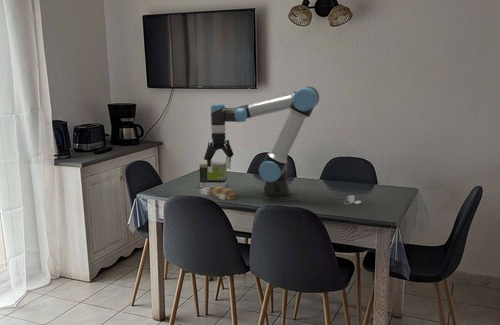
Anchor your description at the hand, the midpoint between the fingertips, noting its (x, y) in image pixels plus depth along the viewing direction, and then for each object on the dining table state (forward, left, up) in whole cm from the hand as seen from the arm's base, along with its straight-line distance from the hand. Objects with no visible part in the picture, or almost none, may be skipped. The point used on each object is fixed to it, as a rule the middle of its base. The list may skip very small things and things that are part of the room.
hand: (219, 170), depth 275 cm
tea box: (+19, -13, -15) cm, 28 cm away
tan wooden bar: (-2, 0, -15) cm, 15 cm away
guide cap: (-6, 0, -15) cm, 16 cm away
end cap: (+9, 0, -15) cm, 17 cm away
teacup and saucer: (-64, -35, -15) cm, 75 cm away
